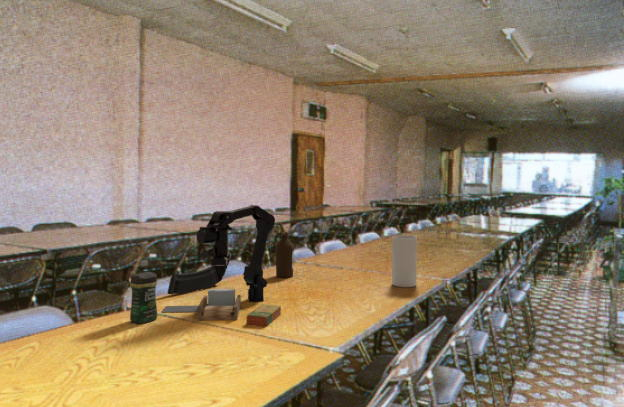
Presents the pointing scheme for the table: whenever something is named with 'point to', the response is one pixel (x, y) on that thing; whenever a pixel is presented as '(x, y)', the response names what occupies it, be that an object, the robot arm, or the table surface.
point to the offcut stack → (218, 310)
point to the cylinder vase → (404, 261)
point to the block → (221, 297)
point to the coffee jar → (143, 297)
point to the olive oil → (284, 257)
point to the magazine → (193, 281)
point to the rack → (217, 317)
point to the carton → (263, 315)
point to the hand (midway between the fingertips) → (221, 278)
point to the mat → (180, 309)
